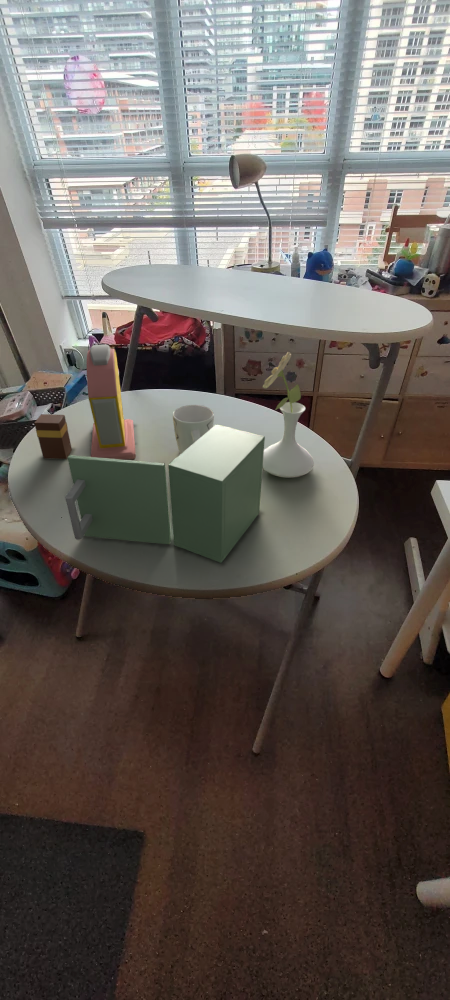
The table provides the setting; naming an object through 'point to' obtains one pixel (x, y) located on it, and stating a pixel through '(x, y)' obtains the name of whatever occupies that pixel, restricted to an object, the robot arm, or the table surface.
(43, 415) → the chocolate box
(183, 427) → the mug
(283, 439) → the flower in vase
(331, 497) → the table surface
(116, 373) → the yellow alarm clock
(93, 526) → the cupboard door
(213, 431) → the cupboard
